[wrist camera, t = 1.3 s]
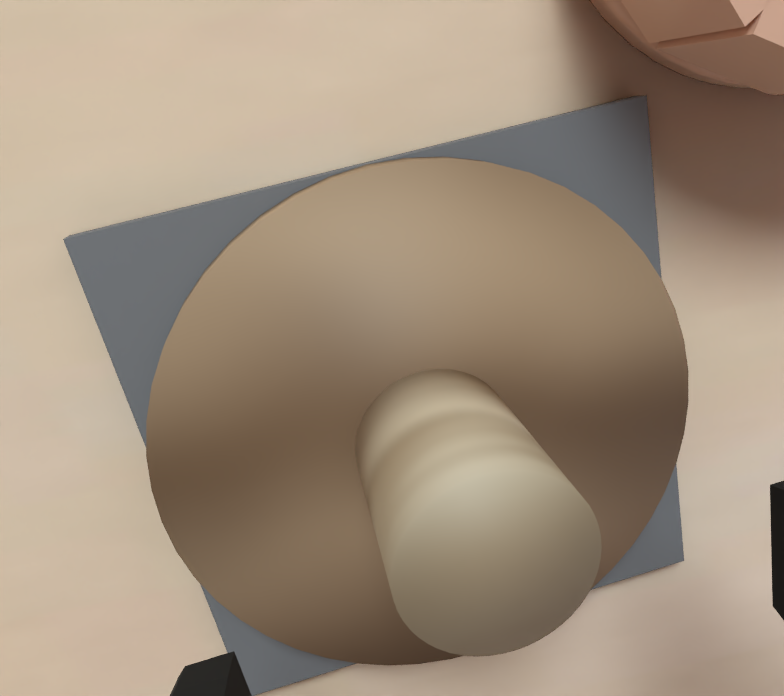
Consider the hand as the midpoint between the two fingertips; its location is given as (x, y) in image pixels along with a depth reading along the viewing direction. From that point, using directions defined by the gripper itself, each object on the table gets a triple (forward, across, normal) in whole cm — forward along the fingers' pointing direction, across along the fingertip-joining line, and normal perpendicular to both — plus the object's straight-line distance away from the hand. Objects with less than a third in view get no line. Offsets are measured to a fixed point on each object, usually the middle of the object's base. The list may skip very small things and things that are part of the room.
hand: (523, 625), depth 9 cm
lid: (+6, 0, 0) cm, 6 cm away
